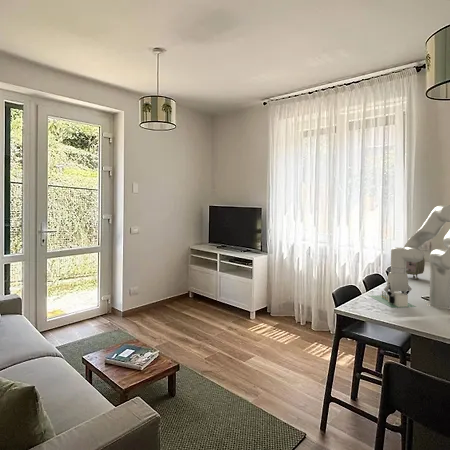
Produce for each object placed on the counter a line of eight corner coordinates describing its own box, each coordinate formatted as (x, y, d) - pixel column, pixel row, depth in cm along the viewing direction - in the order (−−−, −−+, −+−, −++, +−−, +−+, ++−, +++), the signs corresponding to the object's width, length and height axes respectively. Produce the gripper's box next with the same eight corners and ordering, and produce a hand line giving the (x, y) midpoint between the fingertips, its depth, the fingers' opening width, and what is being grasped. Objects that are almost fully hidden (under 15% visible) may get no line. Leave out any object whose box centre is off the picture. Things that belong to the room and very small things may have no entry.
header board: (390, 296, 208) (390, 289, 208) (416, 308, 184) (416, 300, 184) (368, 297, 206) (368, 289, 206) (391, 310, 183) (392, 301, 182)
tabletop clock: (399, 277, 262) (400, 244, 260) (407, 275, 266) (408, 243, 265) (418, 280, 249) (419, 246, 248) (425, 279, 254) (426, 245, 252)
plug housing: (396, 301, 194) (396, 290, 194) (407, 306, 184) (407, 295, 184) (387, 301, 194) (388, 291, 193) (398, 306, 184) (399, 295, 184)
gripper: (408, 268, 193) (407, 300, 194) (379, 269, 191) (378, 301, 192) (417, 271, 185) (416, 304, 186) (387, 272, 183) (386, 305, 184)
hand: (397, 302), depth 189 cm, fingers open, 6 cm apart
